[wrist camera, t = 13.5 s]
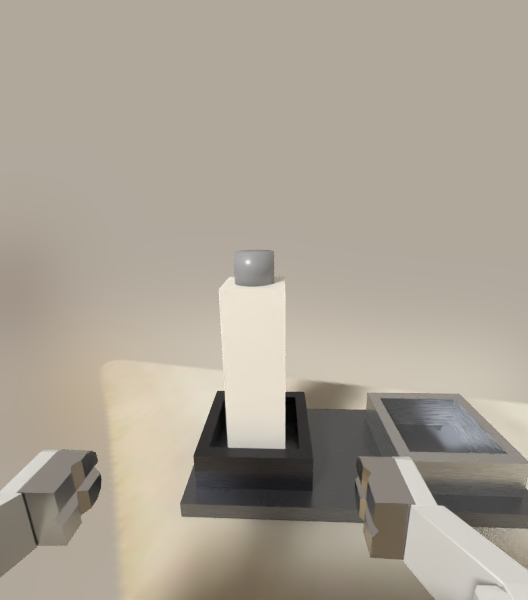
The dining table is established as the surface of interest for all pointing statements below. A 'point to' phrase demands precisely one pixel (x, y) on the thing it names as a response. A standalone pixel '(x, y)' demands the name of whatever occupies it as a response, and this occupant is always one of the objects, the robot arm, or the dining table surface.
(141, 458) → the dining table surface
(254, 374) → the plug
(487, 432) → the panel
